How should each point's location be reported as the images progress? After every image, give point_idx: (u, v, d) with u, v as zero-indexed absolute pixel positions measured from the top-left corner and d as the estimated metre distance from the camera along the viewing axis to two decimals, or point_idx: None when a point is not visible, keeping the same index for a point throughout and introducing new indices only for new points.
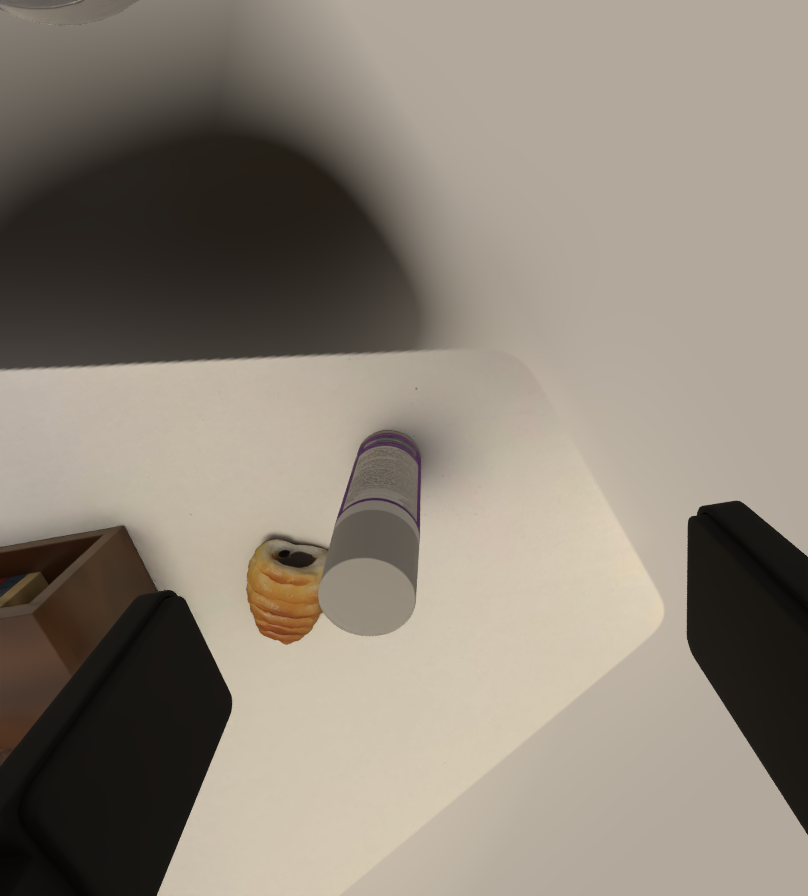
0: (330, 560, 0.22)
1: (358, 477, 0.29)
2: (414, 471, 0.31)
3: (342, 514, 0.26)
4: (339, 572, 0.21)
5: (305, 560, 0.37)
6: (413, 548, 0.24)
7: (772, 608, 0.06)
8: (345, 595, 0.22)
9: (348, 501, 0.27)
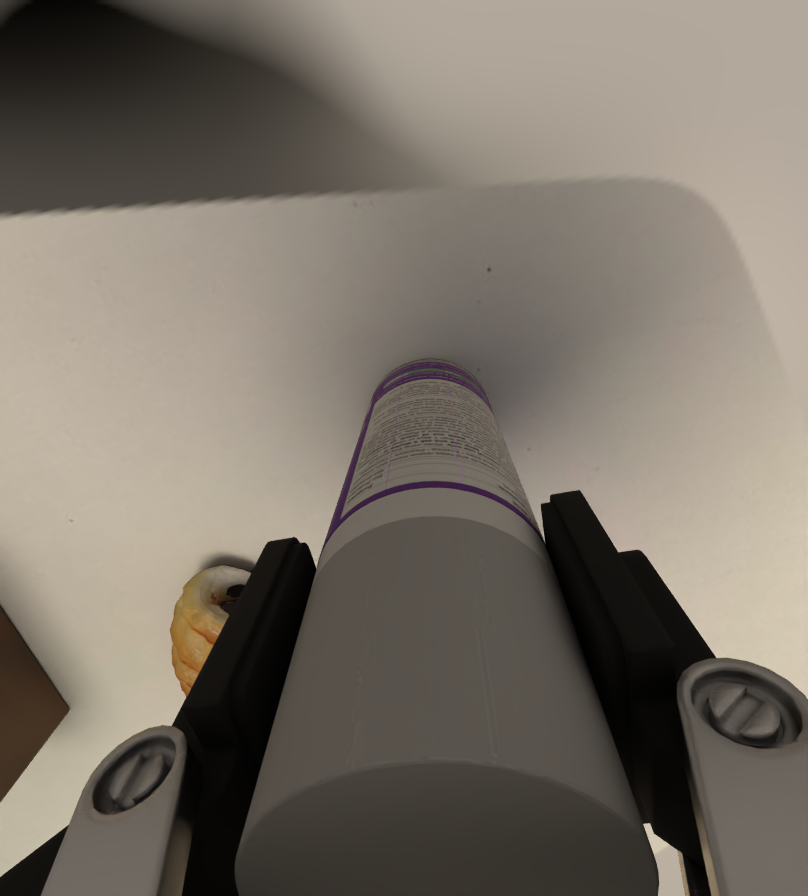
0: (289, 728, 0.05)
1: (379, 436, 0.12)
2: (498, 429, 0.14)
3: (340, 529, 0.09)
4: (324, 812, 0.05)
5: None
6: (580, 647, 0.07)
7: (571, 576, 0.07)
8: (351, 888, 0.05)
9: (356, 492, 0.10)
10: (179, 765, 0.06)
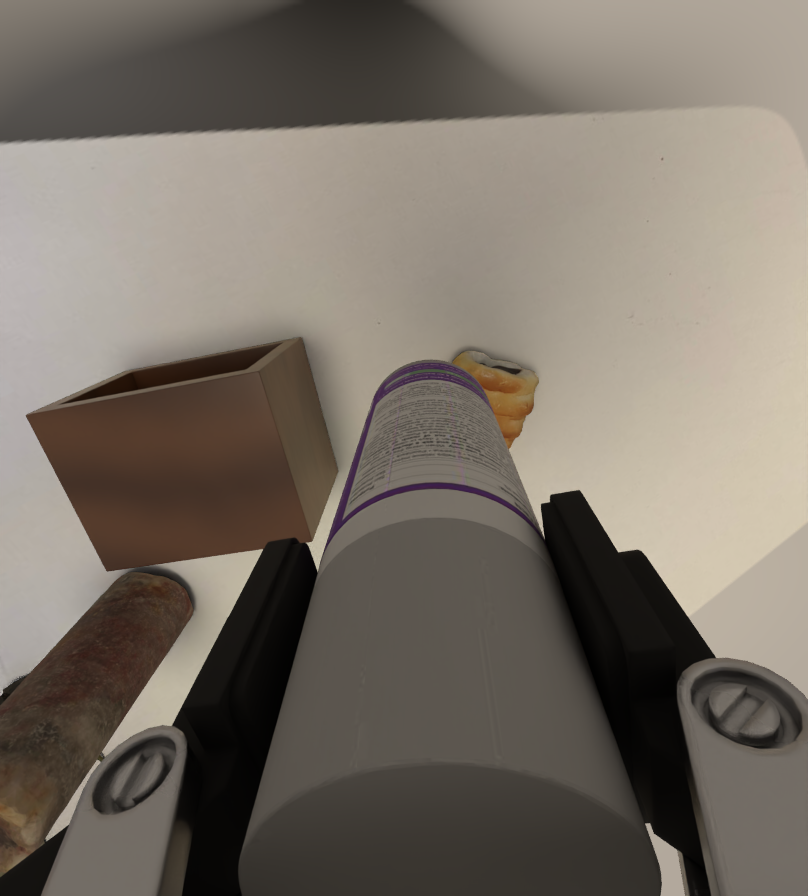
0: (293, 730, 0.05)
1: (381, 436, 0.12)
2: (499, 430, 0.14)
3: (342, 530, 0.09)
4: (328, 814, 0.05)
5: (510, 369, 0.34)
6: None
7: (571, 576, 0.07)
8: (355, 889, 0.05)
9: (358, 493, 0.10)
10: (179, 765, 0.06)
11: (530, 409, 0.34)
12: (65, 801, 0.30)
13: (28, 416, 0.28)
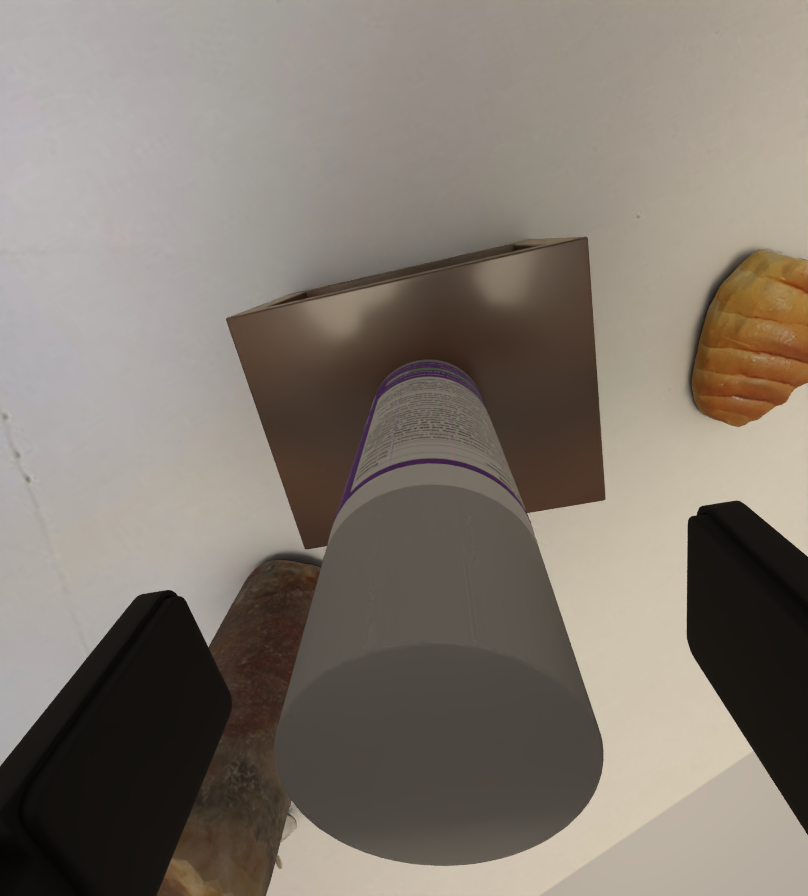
0: (316, 638, 0.07)
1: (383, 425, 0.14)
2: (490, 421, 0.16)
3: (350, 499, 0.10)
4: (346, 689, 0.06)
5: None
6: (551, 589, 0.09)
7: (772, 608, 0.06)
8: (365, 758, 0.07)
9: (364, 470, 0.11)
10: None
11: None
12: None
13: (229, 320, 0.19)
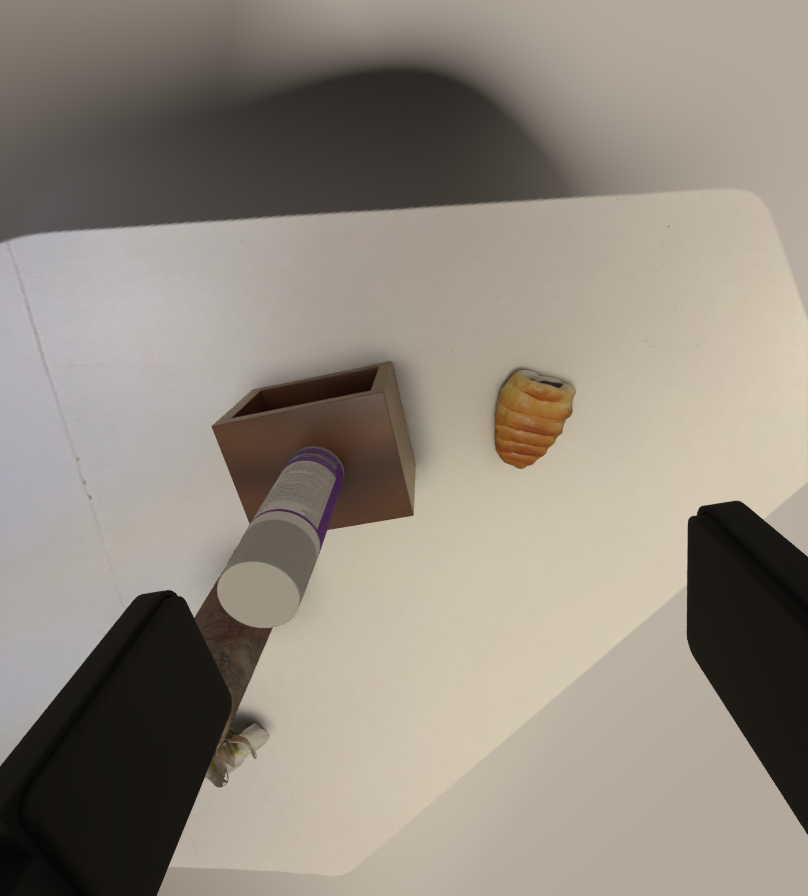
0: (228, 563, 0.26)
1: (274, 490, 0.33)
2: (328, 483, 0.35)
3: (250, 523, 0.30)
4: (233, 573, 0.25)
5: (554, 384, 0.44)
6: (305, 552, 0.28)
7: (772, 608, 0.06)
8: (240, 593, 0.26)
9: (258, 511, 0.31)
10: None
11: (570, 413, 0.45)
12: (237, 709, 0.41)
13: (213, 427, 0.39)
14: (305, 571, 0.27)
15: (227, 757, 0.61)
